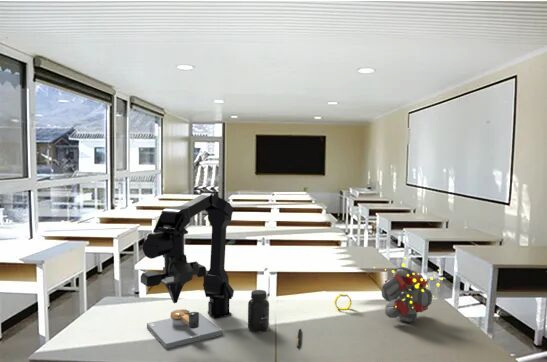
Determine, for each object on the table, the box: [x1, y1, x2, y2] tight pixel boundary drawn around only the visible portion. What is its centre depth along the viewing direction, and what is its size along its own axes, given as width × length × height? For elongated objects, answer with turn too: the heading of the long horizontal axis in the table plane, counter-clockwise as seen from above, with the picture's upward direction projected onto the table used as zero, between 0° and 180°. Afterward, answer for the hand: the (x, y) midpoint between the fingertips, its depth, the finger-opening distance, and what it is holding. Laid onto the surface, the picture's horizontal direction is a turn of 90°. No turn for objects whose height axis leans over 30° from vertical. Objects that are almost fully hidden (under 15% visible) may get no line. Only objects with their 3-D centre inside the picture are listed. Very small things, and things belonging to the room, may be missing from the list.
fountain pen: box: [296, 328, 302, 349], centre depth 129 cm, size 14×1×2 cm, turn 174°
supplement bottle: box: [247, 289, 270, 333], centre depth 136 cm, size 7×7×12 cm
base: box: [146, 311, 223, 349], centre depth 134 cm, size 18×18×4 cm
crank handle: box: [170, 309, 200, 328], centre depth 133 cm, size 14×6×4 cm, turn 36°
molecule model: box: [373, 256, 444, 323], centre depth 143 cm, size 25×21×23 cm
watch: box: [334, 292, 352, 311], centre depth 154 cm, size 6×3×6 cm, turn 96°
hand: (174, 302), depth 126 cm, fingers closed
